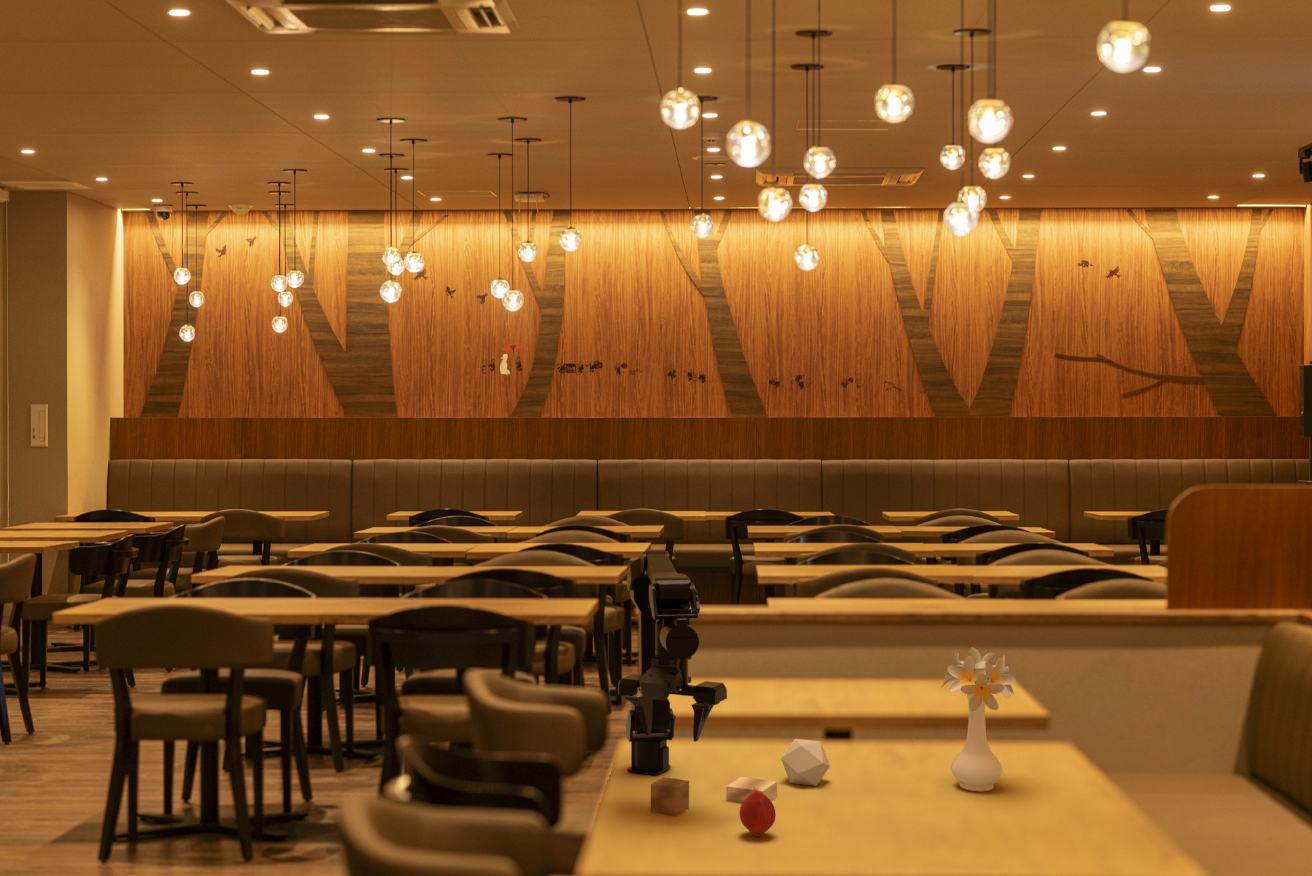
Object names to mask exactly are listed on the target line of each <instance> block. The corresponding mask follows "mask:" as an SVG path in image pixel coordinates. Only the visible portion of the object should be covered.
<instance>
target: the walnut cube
mask: <svg viewBox="0 0 1312 876" xmlns="http://www.w3.org/2000/svg"><path fill="white" fill-rule="evenodd" d="M689 809H690V780H687V779H679V778H672V777H666V776H663V777H661V778H658V779H657V780H656V781H654V782H651V783H650V813H652V814H658V815H659V814H660V815H665V816H671V817H672V816H673V817H678V816H680V815H681V814H682V813H685V812H686V811H687V810H689Z"/></svg>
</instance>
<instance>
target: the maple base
mask: <svg viewBox="0 0 1312 876" xmlns="http://www.w3.org/2000/svg"><path fill="white" fill-rule="evenodd" d="M754 787H757V788H758V789H759V790H760V791H761V792H762V793H763V794H764V795H766V796H767V797H768V798H769V799H770V801H771V802H772V800H773V799H775V798H776V797H778V781H776V780H769V779H763V778H754V777H747V776H746V777H745V776H740V777H738V778H737V779H736V780H734V781H731V783H729V784H728V785H726V788H725V791H726V793H725V795H726V797H725V799H726V802H730V803H737V804H742V803H743V801H744V800H745V799H746V798H747V797H748V796H749V795H750V794H752V793H753V790H754Z"/></svg>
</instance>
